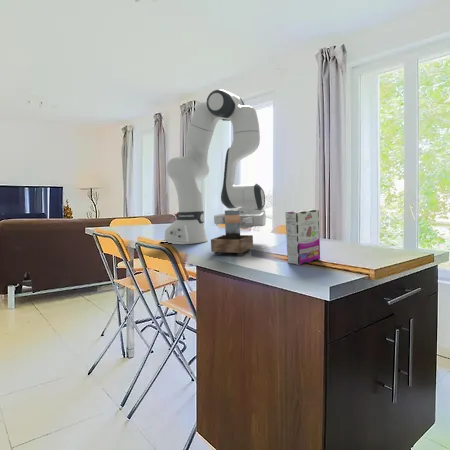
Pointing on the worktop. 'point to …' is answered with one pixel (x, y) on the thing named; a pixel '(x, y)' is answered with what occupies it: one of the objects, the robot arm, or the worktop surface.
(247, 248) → the caster cart
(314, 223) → the candy bar box
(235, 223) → the slate tin
